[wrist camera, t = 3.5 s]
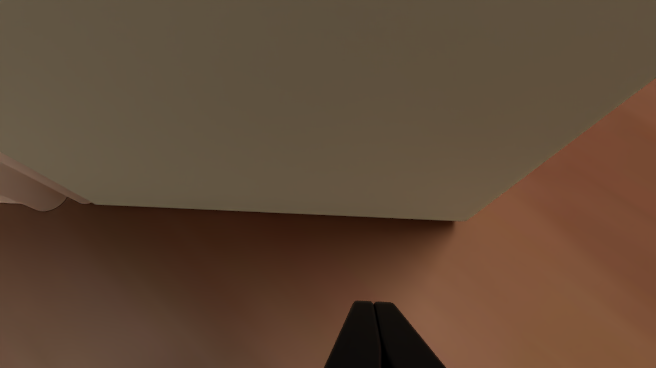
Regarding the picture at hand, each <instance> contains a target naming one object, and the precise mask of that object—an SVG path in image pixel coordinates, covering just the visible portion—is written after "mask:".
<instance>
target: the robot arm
mask: <svg viewBox="0 0 656 368" xmlns="http://www.w3.org/2000/svg"><path fill="white" fill-rule="evenodd" d="M324 368H446V367H445V366H444V365H443V363H442V362H441V361H440V360H439V358H438V357H437V356H436V355H435V354H434V352H433V351H432V350H431V349H430V347H429V346H428V345H427V344H426V343H425V341H424V340H423V339H422V338H421V336H420V335H419V334H418V333H417V332H416V330H415V329H414V328H413V327H412V325H411V324H410V323H409V322H408V321H407V319H406V318H405V317H404V316H403V314H402V313H401V312H400V311H399V309H398V308H397V307H396V306H395V305H394V304H393V303H391V302H375V303H374V304H373V303H372V302H371V301H355V302H354V303H353V305H352V307H351V309H350V311H349V313H348V316H347V318H346V320H345V322H344V324H343V327H342V329H341V331H340V333H339V336H338V338H337V340H336V342H335V344H334V347H333V349H332V351H331V353H330V355H329V358H328V360H327V362H326V364H325V367H324Z"/></svg>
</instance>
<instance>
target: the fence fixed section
mask: <svg viewBox="0 0 656 368" xmlns="http://www.w3.org/2000/svg"><path fill="white" fill-rule="evenodd" d="M66 198H67V196H65V195H63V194H61V193H59V192H58V191H56V190H54V189H52V188H50V187H48V186H46V185H44V184H42V183H40V182H38V181H36V180H35V179H33V178H31V177H29V176H27V175H25V174H23V173H21V172H19V171H17V170H15V169H13V168H12V167H10V166H8V165H6V164H4V163H2V162H0V203H17V204H23V205H26V206H28V207H30V208H33V209H35V210H38V211H49V210H52V209H54V208H56V207H58V206H59V205H61V204H62V203H63V202H64V201H65V199H66Z"/></svg>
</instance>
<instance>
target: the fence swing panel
mask: <svg viewBox="0 0 656 368" xmlns="http://www.w3.org/2000/svg"><path fill="white" fill-rule="evenodd" d="M655 78H656V0H0V162H2V163H4V164H6V165H8V166H10V167H12V168H13V169H15V170H17V171H19V172H21V173H23V174H25V175H27V176H29V177H31V178H33V179H35V180H36V181H38V182H40V183H42V184H44V185H46V186H48V187H50V188H52V189H54V190H56V191H58V192H59V193H61V194H63V195H65V196H67V197H69V198H71V199H73V200H75V201H77V202H79V203H81V204H88V203H91V202H92V203H94V204H97V205H118V206H140V207H162V208H184V209H206V210H228V211H250V212H272V213H293V214H315V215H337V216H359V217H381V218H403V219H425V220H446V221H467V220H468V219H469V218H471V217H472V216H473V215H475V214H476V213H477V212H479V211H480V210H481V209H483V208H484V207H485V206H487V205H488V204H489V203H491V202H492V201H493V200H495V199H496V198H497V197H499V196H500V195H501V194H503V193H504V192H505V191H507V190H508V189H509V188H510V187H512V186H513V185H514V184H516V183H517V182H518V181H520V180H521V179H522V178H524V177H525V176H526V175H528V174H529V173H530V172H532V171H533V170H534V169H536V168H537V167H538V166H540V165H541V164H542V163H544V162H545V161H546V160H548V159H549V158H550V157H552V156H553V155H554V154H556V153H557V152H558V151H559V150H561V149H562V148H563V147H565V146H566V145H567V144H569V143H570V142H571V141H573V140H574V139H575V138H577V137H578V136H579V135H581V134H582V133H583V132H585V131H586V130H587V129H589V128H590V127H591V126H593V125H594V124H595V123H597V122H598V121H599V120H601V119H602V118H603V117H604V116H606V115H607V114H608V113H610V112H611V111H612V110H614V109H615V108H616V107H618V106H619V105H620V104H622V103H623V102H624V101H626V100H627V99H628V98H630V97H631V96H632V95H634V94H635V93H636V92H638V91H639V90H640V89H642V88H643V87H644V86H646V85H647V84H648V83H649V82H651V81H652V80H653V79H655Z"/></svg>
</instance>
